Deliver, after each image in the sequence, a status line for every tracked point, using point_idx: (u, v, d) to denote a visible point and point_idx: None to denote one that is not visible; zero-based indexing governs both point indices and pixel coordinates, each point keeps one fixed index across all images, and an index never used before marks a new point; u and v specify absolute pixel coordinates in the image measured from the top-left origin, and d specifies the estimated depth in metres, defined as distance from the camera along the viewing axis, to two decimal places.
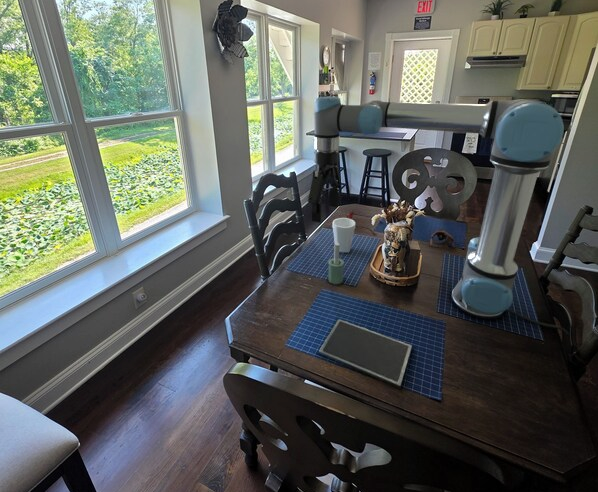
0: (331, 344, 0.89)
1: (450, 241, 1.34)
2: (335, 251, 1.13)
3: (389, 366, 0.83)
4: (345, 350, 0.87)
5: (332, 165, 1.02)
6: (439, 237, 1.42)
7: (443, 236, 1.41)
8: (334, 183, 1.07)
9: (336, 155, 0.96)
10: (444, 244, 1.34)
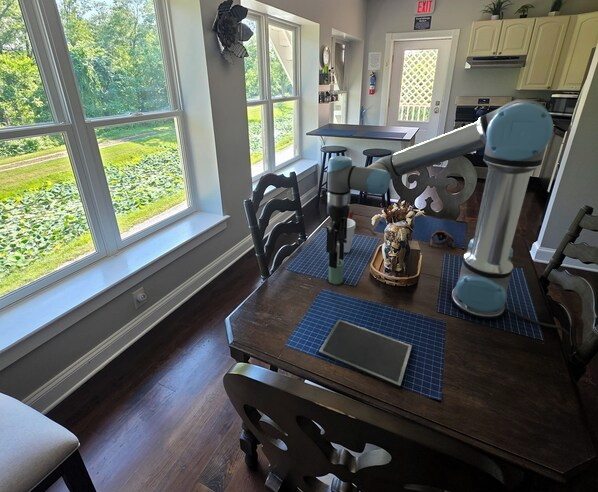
0: (331, 344, 0.89)
1: (450, 241, 1.34)
2: None
3: (389, 366, 0.83)
4: (345, 350, 0.87)
5: None
6: (439, 237, 1.42)
7: (443, 236, 1.41)
8: (341, 236, 1.14)
9: (347, 209, 1.05)
10: (444, 244, 1.34)
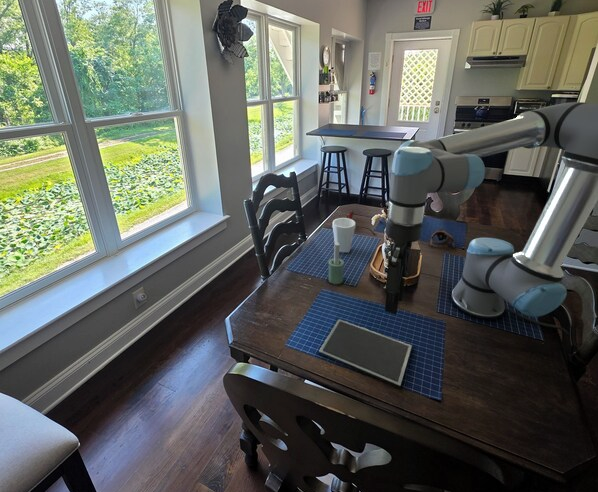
0: (331, 344, 0.89)
1: (450, 241, 1.34)
2: (335, 251, 1.13)
3: (389, 366, 0.83)
4: (345, 350, 0.87)
5: None
6: (439, 237, 1.42)
7: (443, 236, 1.41)
8: (402, 267, 0.77)
9: (420, 228, 0.68)
10: (444, 244, 1.34)
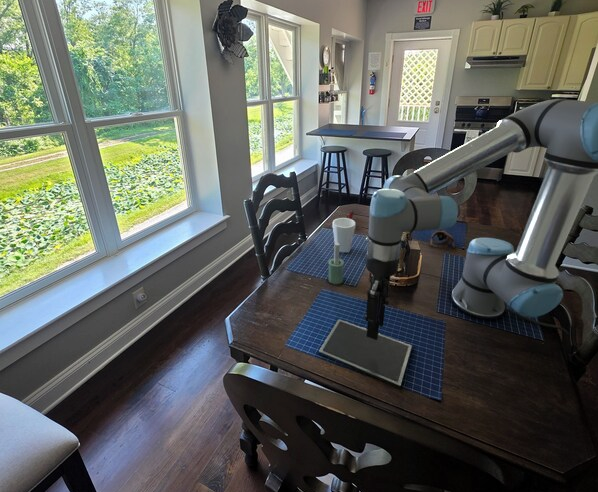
0: (331, 344, 0.89)
1: (450, 241, 1.34)
2: (335, 251, 1.13)
3: (389, 366, 0.83)
4: (345, 350, 0.87)
5: None
6: (439, 237, 1.42)
7: (443, 236, 1.41)
8: (383, 296, 0.82)
9: (397, 263, 0.74)
10: (444, 244, 1.34)
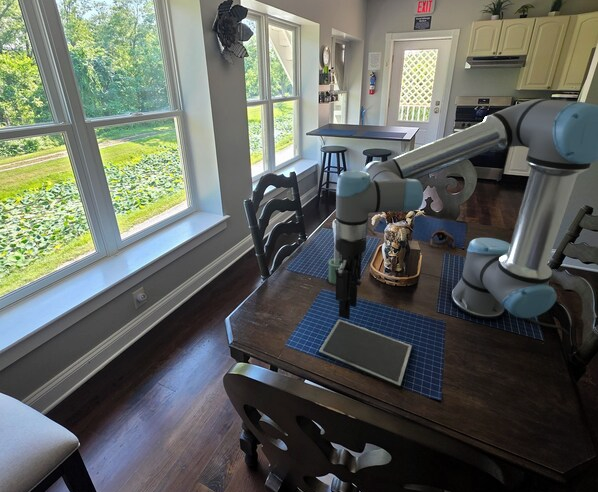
0: (331, 344, 0.89)
1: (450, 241, 1.34)
2: (335, 251, 1.13)
3: (389, 366, 0.83)
4: (345, 350, 0.87)
5: None
6: (439, 237, 1.42)
7: (443, 236, 1.41)
8: (354, 277, 0.85)
9: (364, 243, 0.76)
10: (444, 244, 1.34)
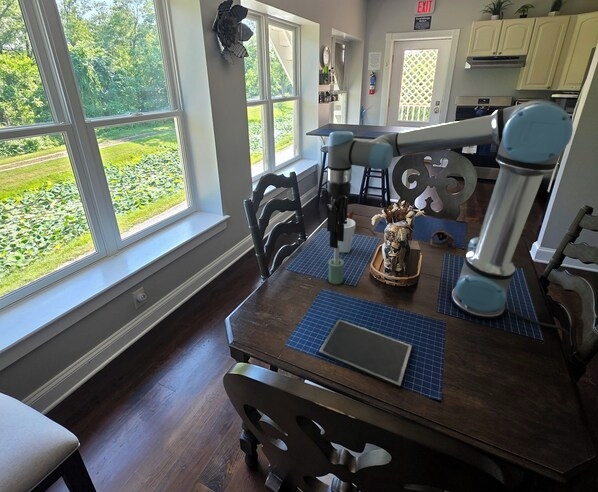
0: (331, 344, 0.89)
1: (450, 241, 1.34)
2: (335, 251, 1.13)
3: (389, 366, 0.83)
4: (345, 350, 0.87)
5: None
6: (439, 237, 1.42)
7: (443, 236, 1.41)
8: (342, 216, 1.10)
9: (348, 186, 1.02)
10: (444, 244, 1.34)
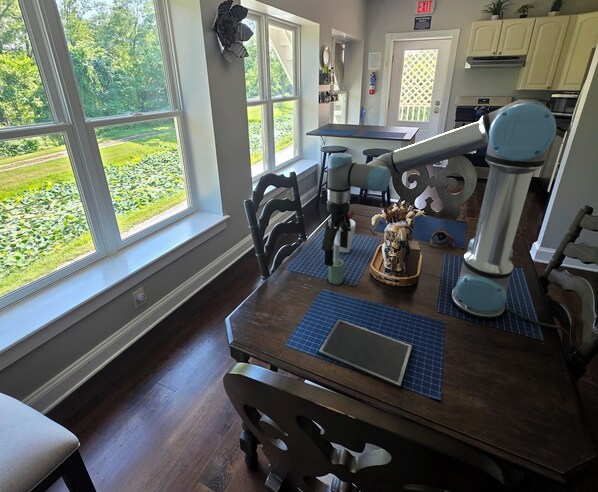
0: (331, 344, 0.89)
1: (450, 241, 1.34)
2: (335, 251, 1.13)
3: (389, 366, 0.83)
4: (345, 350, 0.87)
5: None
6: (439, 237, 1.42)
7: (443, 236, 1.41)
8: (345, 227, 1.15)
9: (347, 206, 1.04)
10: (444, 244, 1.34)
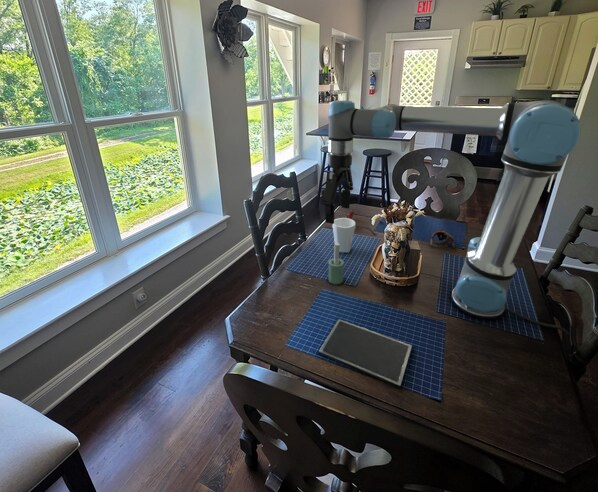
0: (331, 344, 0.89)
1: (450, 241, 1.34)
2: (335, 251, 1.13)
3: (389, 366, 0.83)
4: (345, 350, 0.87)
5: (345, 167, 1.03)
6: (439, 237, 1.42)
7: (443, 236, 1.41)
8: (346, 185, 1.09)
9: (350, 158, 0.98)
10: (444, 244, 1.34)
